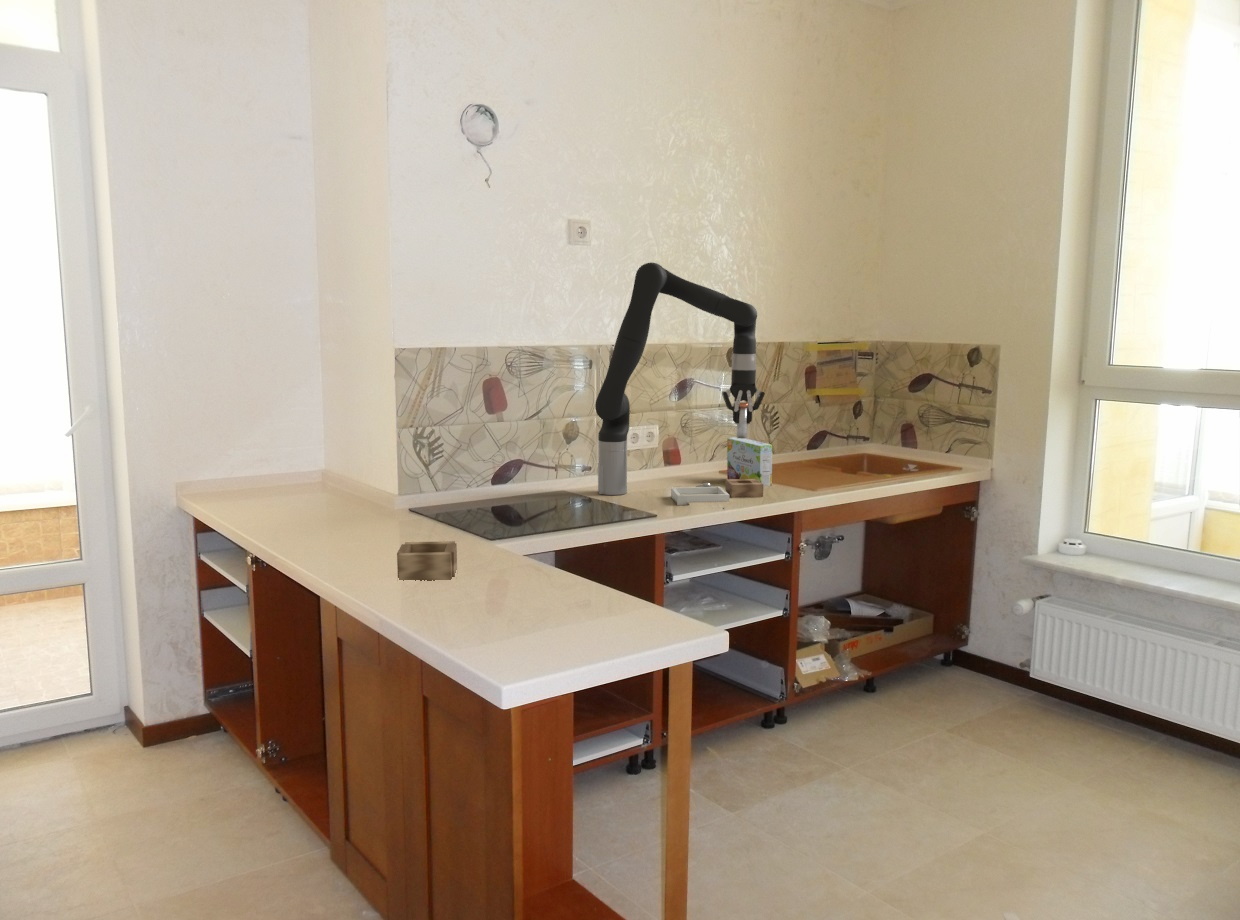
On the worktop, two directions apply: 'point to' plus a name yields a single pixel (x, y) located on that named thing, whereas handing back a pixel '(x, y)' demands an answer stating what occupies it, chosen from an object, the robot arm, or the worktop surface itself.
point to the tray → (713, 495)
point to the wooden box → (744, 488)
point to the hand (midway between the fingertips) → (742, 423)
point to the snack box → (749, 460)
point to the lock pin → (742, 420)
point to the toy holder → (427, 560)
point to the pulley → (706, 485)
